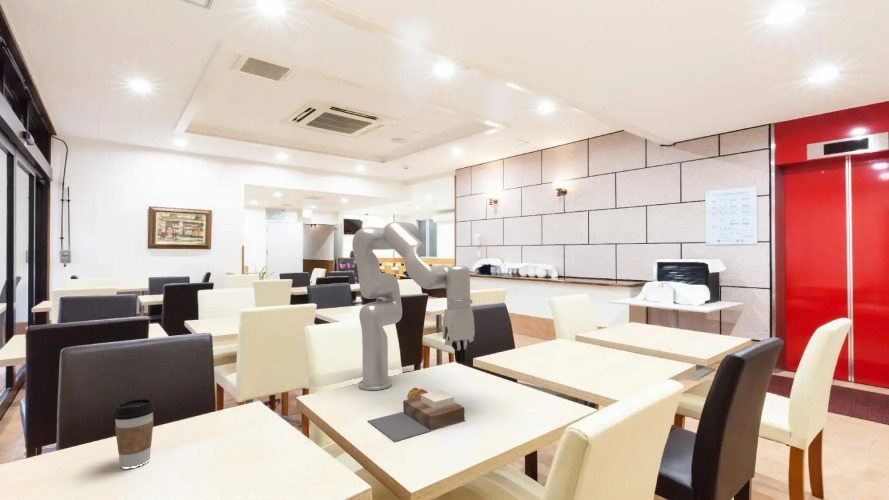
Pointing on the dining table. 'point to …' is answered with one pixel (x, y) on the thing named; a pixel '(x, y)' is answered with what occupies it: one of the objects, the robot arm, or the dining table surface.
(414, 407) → the serving board
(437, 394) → the tile
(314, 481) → the dining table surface
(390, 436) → the mat
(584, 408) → the dining table surface
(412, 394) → the pastry
